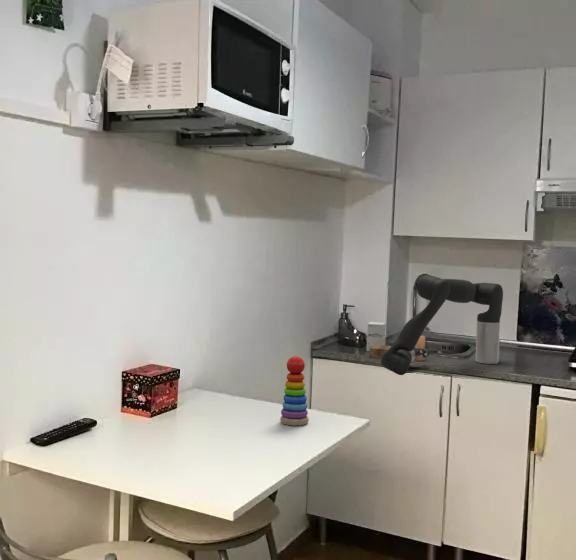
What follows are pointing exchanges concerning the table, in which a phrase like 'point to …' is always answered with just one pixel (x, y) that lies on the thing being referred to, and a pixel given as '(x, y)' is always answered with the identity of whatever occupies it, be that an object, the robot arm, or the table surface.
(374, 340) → the supplement box
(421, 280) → the robot arm
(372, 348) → the base
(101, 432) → the table surface
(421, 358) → the orange tan block
